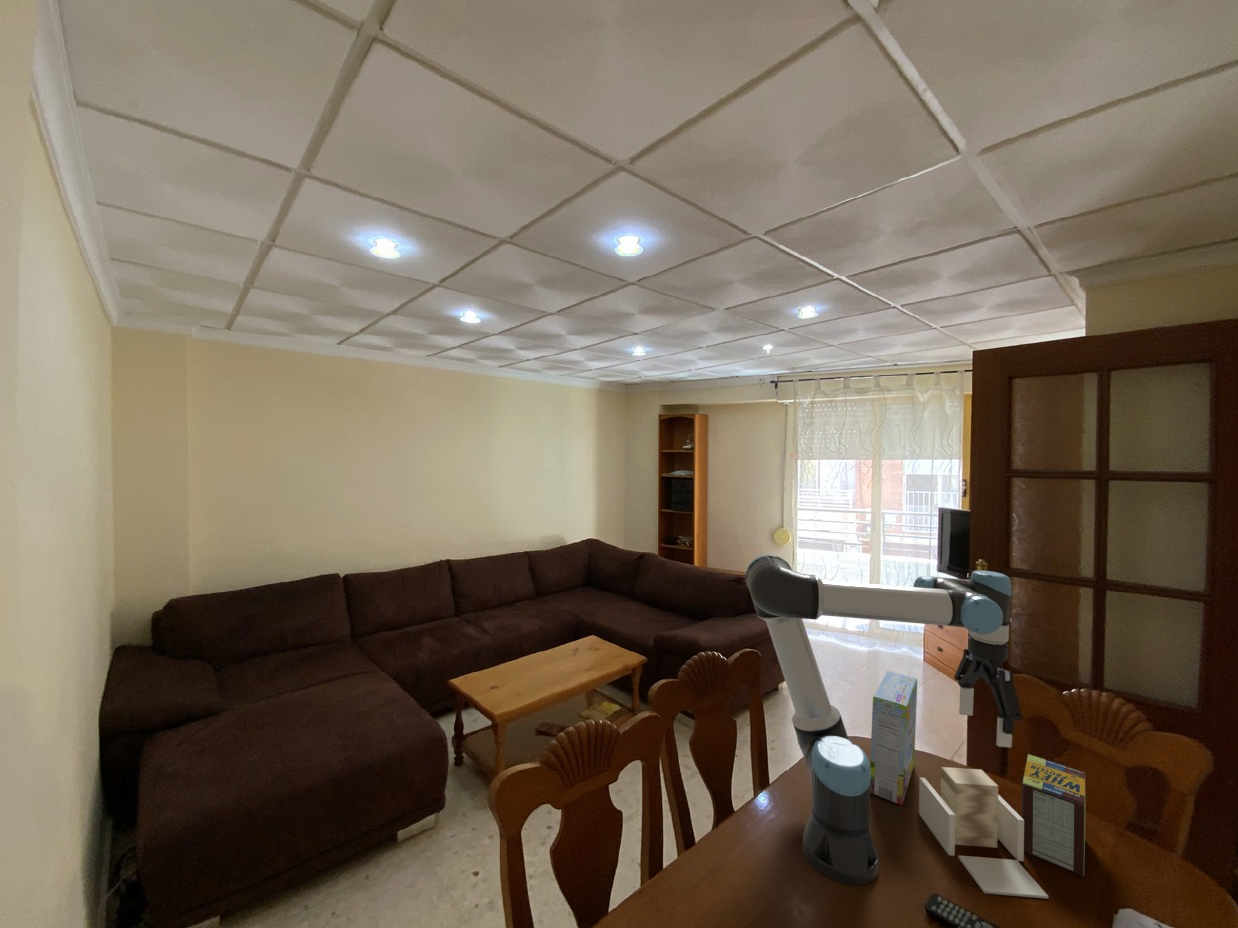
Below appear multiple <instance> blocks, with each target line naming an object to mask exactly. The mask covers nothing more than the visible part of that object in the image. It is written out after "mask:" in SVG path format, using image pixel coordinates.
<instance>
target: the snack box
mask: <svg viewBox="0 0 1238 928" xmlns="http://www.w3.org/2000/svg"><path fill="white" fill-rule="evenodd" d="M917 699H918V679H917V678H915V677H913V676H909V675H905V674H901V673H897V672H892V671H889V670H888V671H886V673H885V674H884V676H883V678H882V680H881V683H880V684H879V685H878V688H877V689H876V691H875V693H874V695H873V697H872V711H871V712H872V713H871V714H872V715H871V735H870V736H871V737H870V738H871V739H870V760H869V764H870V770H871V783H870V794H872V795H874V796H878V797H880V798H882V799H884V800H887V801H889V802H892V803H895V804H897V805H899V806H903V804H904V800H905V797H906V795H907V790H908V787H909V784H910V781H911V776H912V773H913V770H914V768H915V767H914V766H915V756H916V755H915V754H916V753H915V750H916V730H917V729H916V726H917V725H916V724H917V704H918V703H917Z"/></svg>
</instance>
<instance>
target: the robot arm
mask: <svg viewBox="0 0 1238 928" xmlns="http://www.w3.org/2000/svg"><path fill="white" fill-rule="evenodd" d="M744 577H745V578H744V579H745V583H746V586H747V588H748V590H749V593H750V597H751V600H752V603H753V606H754V609H755V612H756V614H757V617H758V618H759V619H761V620H763V621H765V622H766V625H767V628H768V632H769V635H770V637H771V641H772V645H773V648H774V650H775V653H776V656H777V660H778V662H779V666H780V668H781V672H782V675H783V678H784V680H785V683H786V686H787V690H788V693H789V696H790V700H791V702H792V705H793V708H794V713H793V715H792V718H791V721H792V725H793V727H794V728H793V729H794V730H795V735H796V739H797V743H798V746H799V749H800V751H801V753H802V756H803V759H804V761H805V764H806V767H807V770H808V774H809V777H810V781H811V813H810V815H809V818H808V820H807V823H806V825H805V828H804V831H803V835H802V851H803V854H804V856H805V858H806V860H807V861H808V863H809V864H810V865H811V866H812V867H813V869H815V870H816V871H818V872H819V873H821V874H822V875H823V876H825V877H827V878H828V879H831V880H833V881H835V882H837V883H842V884H844V885H849V886H861V885H866V884H869V883H871V882H872V881H873V880H875V879H876V877H877V876H878V872H879V855H878V852H877V849H876V845H875V842H874V839H873V835H872V833H871V830H870V817H871V816H870V813H871V812H870V811H871V805H870V804H871V793H870V783H871V770H870V760H869V757H868V755H867V754H866V752H865V751H864V750H863V749H862V748H861V747H860V746H859V745H858V744H854V743H853V741H852V740H850V739H849V736H848V733H847V730H846V727H845V725H844V721H843V717H842V715H841V712H840V710H839V709H838V708H837V707H835V706H834V705H832V704H831V702H830V699H829V697H828V694H827V690H826V687H825V685H824V684H825V683H824V680H823V677H822V674H821V672H820V670H819V666H818V662H817V660H816V656H815V654H814V651H813V647H812V645H811V641H810V639H809V636H808V632H807V629H806V626H805V623H804V621H803V619H804V620H815V621H816V620H818V619H819V618H820V617H822V616H824V617H825V616H826V617H836V618H837V617H839V618H849V619H860V620H863V619H864V620H873V621H884V622H885V621H886V622H897V623H911V624H920V625H921V624H922V625H923V624H924V625H933V626H944V627H945V626H946V627H954V628H955V627H958V628H964V629H966V630H968V634H969V636H968V640H967V643H968V644H967V648H964V649H963V653H962V658H961V659H960V662H959V664H958V667H957V668H956V672H955V673H954V681H957V682H958V683H957V684H958V685H959V688H960V689H959V709H958V710H959V711H958V712H959V715H961V716H970V717H971V716H973V715H974V714H973V713H974V711H973V710H974V693H975V692H974V691H975V689H974V688H975V685H974V684H975V683H976V682H977V681H978V680H980V678H982V679H983V681H985V683H986V685H987V686H989V687H990V690H991V693H992V695H993V699H994V701H995V703H996V706H997V709H998V711H999V714H998V715H997V722H996V743H995V746H998V748H999V747H1000V748H1001V747H1002V748H1012V745H1013V734H1014V725H1015V724H1014V721H1019V722H1021V721H1023V715H1022V711H1021V707H1020V703H1019V699H1018V695H1017V690H1016V686H1015V684H1014V683H1015V682H1014V671H1012V670H1006V669H1004V667H1003V662H1005V661H1007V660H1008V659H1009V644H1008V643H1007V642H1009V638H1010V637H1009V636H1010V635H1009V633H1010V619H1011V603H1012V600H1011V599H1012V597H1013V595H1012V594H1013V593H1012V581H1011V578H1010V577H1009V576H1008V575H1006V574H1004V573H1000V572H997V571H990V570H973V571H972V572H971V576H970V578H965V579H964V578H950V577H938V576H933V575H932V576H919V577H917V578H916V579H915V580H914V582H913V586H905V585H904V586H903V585H890V584H889V585H888V584H880V583H879V584H878V583H876V584H875V583H865V582H864V583H863V582H850V581H848V582H847V581H836V580H824V579H823V580H822V579H820V578H819V576H817V574H806V573H801V572H797V571H794V570H793V569H792V567H791V565H790V564H789V563H788V562H787V561H786V560H785V559H783V558H782V557H779V556H777V555H773V554H763V555H760V556H757V557H755V558H754V559H752V561H751V562H750V563H749V565H748V566H747V568H746V572H745V576H744Z"/></svg>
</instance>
